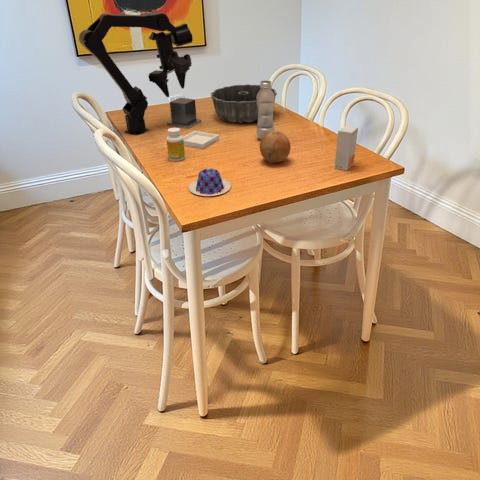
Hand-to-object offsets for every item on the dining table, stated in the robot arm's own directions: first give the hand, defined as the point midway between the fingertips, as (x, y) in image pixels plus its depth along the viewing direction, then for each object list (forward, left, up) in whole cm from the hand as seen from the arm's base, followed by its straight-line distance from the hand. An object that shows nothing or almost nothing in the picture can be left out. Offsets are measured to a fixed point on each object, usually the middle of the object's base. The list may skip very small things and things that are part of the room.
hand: (175, 92), depth 175 cm
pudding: (+43, -44, -13) cm, 63 cm away
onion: (+51, -18, -12) cm, 56 cm away
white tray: (+19, -14, -12) cm, 27 cm away
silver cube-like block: (+2, +1, -12) cm, 12 cm away
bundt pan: (+19, +19, -12) cm, 30 cm away
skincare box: (+72, -12, -12) cm, 74 cm away
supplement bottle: (+21, -30, -12) cm, 39 cm away
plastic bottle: (+39, -1, -12) cm, 41 cm away
